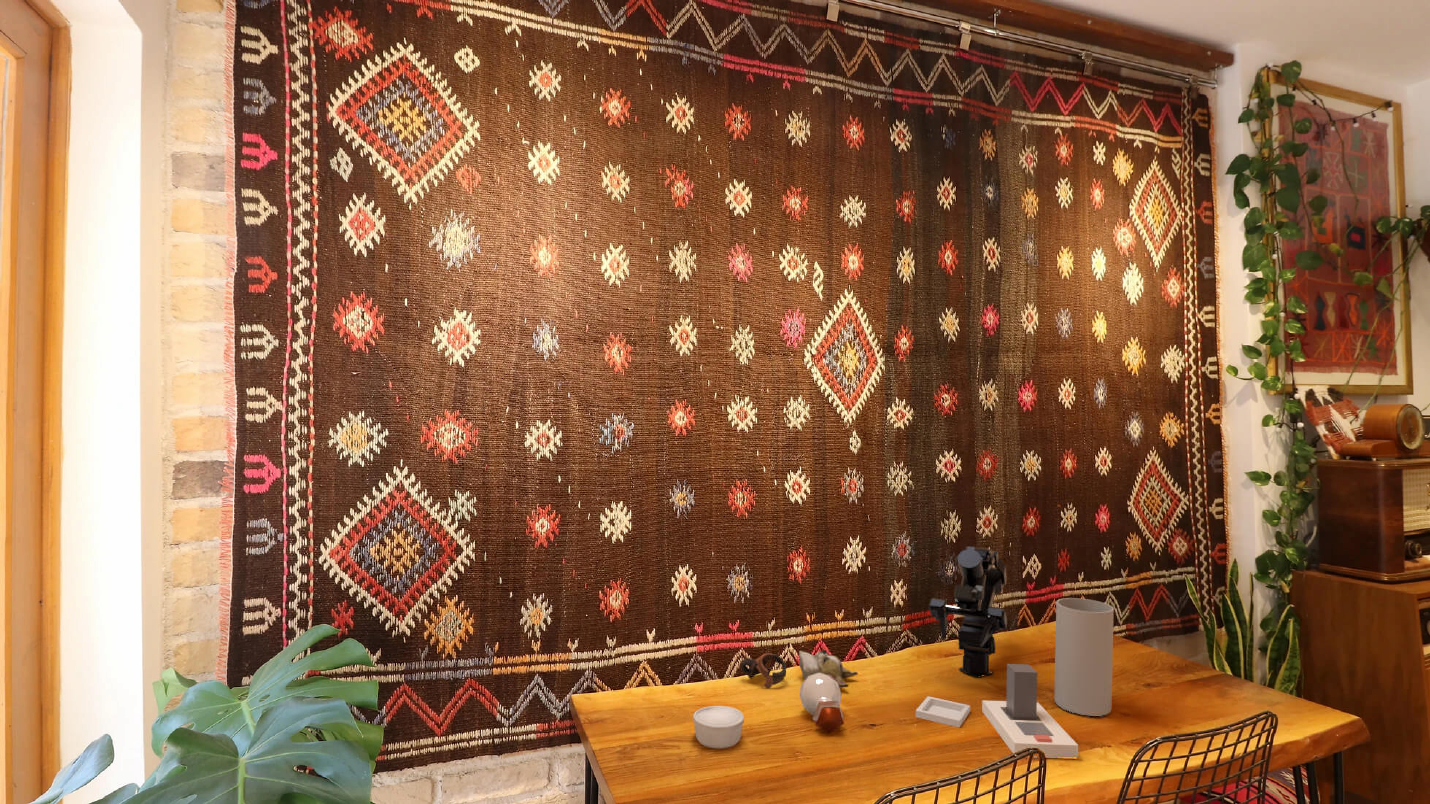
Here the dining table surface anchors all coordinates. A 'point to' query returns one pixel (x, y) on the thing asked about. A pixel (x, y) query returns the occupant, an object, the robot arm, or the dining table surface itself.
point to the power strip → (1030, 731)
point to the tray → (943, 711)
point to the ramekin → (718, 726)
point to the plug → (1021, 692)
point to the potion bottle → (822, 701)
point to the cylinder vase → (1084, 656)
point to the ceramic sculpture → (824, 666)
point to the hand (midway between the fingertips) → (961, 642)
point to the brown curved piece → (764, 668)
